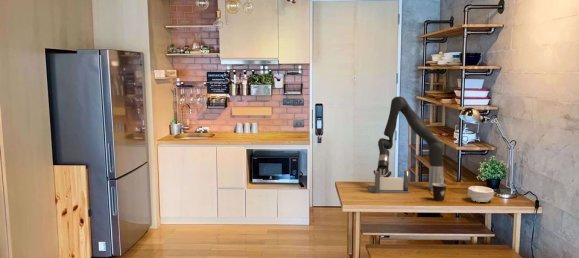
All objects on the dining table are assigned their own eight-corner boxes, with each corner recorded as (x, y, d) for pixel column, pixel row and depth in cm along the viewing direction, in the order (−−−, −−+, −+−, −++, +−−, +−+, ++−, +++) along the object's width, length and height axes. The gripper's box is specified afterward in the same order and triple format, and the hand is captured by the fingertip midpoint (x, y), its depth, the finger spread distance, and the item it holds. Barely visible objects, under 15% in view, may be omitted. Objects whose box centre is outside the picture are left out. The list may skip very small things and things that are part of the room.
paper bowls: (496, 204, 284) (496, 192, 283) (470, 203, 286) (470, 191, 286) (489, 198, 299) (490, 186, 298) (465, 197, 301) (465, 185, 300)
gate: (402, 189, 315) (402, 171, 314) (402, 190, 313) (403, 172, 311) (374, 189, 317) (375, 171, 315) (375, 190, 314) (375, 172, 313)
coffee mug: (444, 198, 299) (444, 183, 297) (447, 201, 290) (447, 186, 289) (425, 197, 300) (426, 182, 299) (428, 201, 291) (429, 186, 290)
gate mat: (405, 187, 328) (405, 185, 328) (410, 193, 312) (410, 191, 311) (367, 186, 330) (367, 185, 330) (370, 192, 313) (370, 191, 313)
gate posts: (407, 191, 316) (407, 170, 314) (408, 192, 313) (409, 171, 311) (374, 192, 314) (374, 170, 312) (375, 193, 311) (375, 171, 309)
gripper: (373, 159, 325) (371, 179, 315) (392, 160, 321) (391, 181, 311) (374, 164, 331) (372, 185, 321) (393, 165, 327) (391, 186, 317)
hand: (381, 183), depth 316 cm, fingers closed
